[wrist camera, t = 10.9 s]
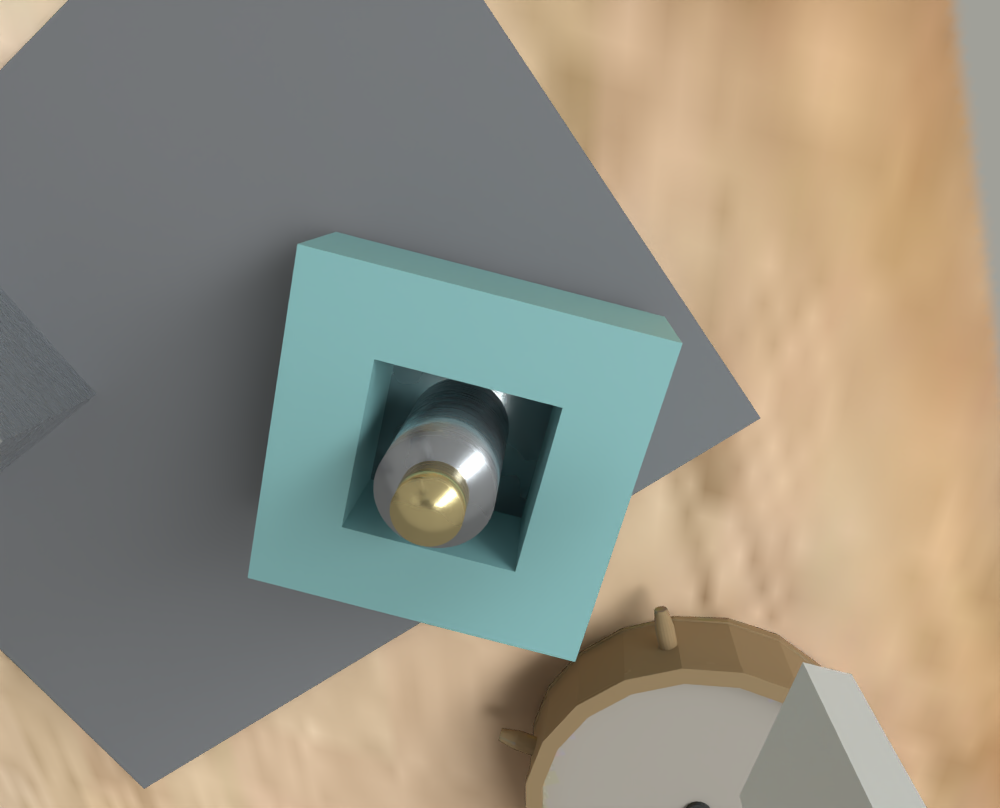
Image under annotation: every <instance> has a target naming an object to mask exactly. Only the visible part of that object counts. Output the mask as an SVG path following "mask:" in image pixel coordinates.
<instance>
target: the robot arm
mask: <svg viewBox="0 0 1000 808" xmlns="http://www.w3.org/2000/svg"><path fill="white" fill-rule="evenodd" d="M739 796H740V799H741V803H742V806H743V808H926V806H925V804H924V802H923V800H922V799H921V797H920V795H919V793H918V792H917V790H916V788H915V786H914V784H913V783H912V781H911V779H910V777H909V776H908V774H907V772H906V770H905V768H904V767H903V765H902V763H901V761H900V760H899V758H898V756H897V754H896V752H895V751H894V749H893V747H892V745H891V744H890V742H889V740H888V738H887V736H886V735H885V733H884V731H883V729H882V727H881V726H880V724H879V722H878V720H877V719H876V717H875V715H874V713H873V711H872V710H871V708H870V706H869V704H868V703H867V701H866V699H865V697H864V695H863V694H862V692H861V690H860V688H859V687H858V685H857V683H856V681H855V679H854V678H853V676H852V674H848V673H844V672H840V671H836V670H832V669H828V668H824V667H820V666H816V665H812V664H808V663H804V662H803V663H802V665H801V667H800V669H799V671H798V673H797V675H796V678H795V680H794V682H793V684H792V686H791V688H790V690H789V692H788V694H787V696H786V699H785V701H784V703H783V705H782V707H781V709H780V711H779V713H778V715H777V718H776V720H775V722H774V724H773V726H772V728H771V730H770V732H769V734H768V736H767V739H766V741H765V743H764V745H763V747H762V749H761V751H760V753H759V755H758V758H757V760H756V762H755V764H754V766H753V768H752V770H751V772H750V774H749V776H748V779H747V781H746V783H745V785H744V787H743V789H742V791H741V793H740V795H739Z"/></svg>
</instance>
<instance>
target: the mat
mask: <svg viewBox="0 0 1000 808" xmlns="http://www.w3.org/2000/svg"><path fill="white" fill-rule="evenodd" d="M334 232H339V233H343V234H347V235H350V236H354V237H358V238H362V239H366V240H370V241H374V242H378V243H381V244H385V245H389V246H393V247H397V248H401V249H405V250H408V251H412V252H416V253H420V254H424V255H428V256H432V257H436V258H439V259H443V260H447V261H451V262H455V263H459V264H463V265H467V266H470V267H474V268H478V269H482V270H486V271H490V272H494V273H498V274H501V275H505V276H509V277H513V278H517V279H521V280H525V281H529V282H532V283H536V284H540V285H544V286H548V287H552V288H556V289H559V290H563V291H567V292H571V293H575V294H579V295H583V296H587V297H590V298H594V299H598V300H602V301H606V302H610V303H614V304H618V305H621V306H625V307H629V308H633V309H637V310H641V311H645V312H649V313H652V314H656V315H660V316H664V317H665V318H666V319H667V321H668V322H669V324H670V325H671V327H672V328H673V330H674V331H675V333H676V334H677V336H678V337H679V339H680V340H681V342H682V343H683V344H682V347H681V350H680V353H679V356H678V359H677V361H676V364H675V367H674V370H673V373H672V376H671V379H670V382H669V385H668V388H667V391H666V394H665V397H664V400H663V403H662V406H661V409H660V412H659V415H658V418H657V421H656V424H655V427H654V430H653V433H652V436H651V439H650V442H649V445H648V447H647V450H646V453H645V456H644V459H643V462H642V465H641V468H640V471H639V474H638V477H637V480H636V483H635V486H634V489H633V492H632V495H634V494H635V493H637V492H638V491H640V490H642V489H643V488H645V487H647V486H648V485H650V484H652V483H653V482H655V481H657V480H658V479H660V478H662V477H663V476H665V475H667V474H668V473H670V472H672V471H673V470H675V469H677V468H678V467H680V466H682V465H683V464H685V463H687V462H688V461H690V460H692V459H693V458H695V457H697V456H698V455H700V454H702V453H703V452H705V451H707V450H708V449H710V448H712V447H713V446H715V445H717V444H718V443H720V442H722V441H723V440H725V439H727V438H728V437H730V436H732V435H733V434H735V433H737V432H738V431H740V430H742V429H743V428H745V427H747V426H748V425H750V424H752V423H753V422H755V421H757V420H758V419H760V417H759V415H758V414H757V412H756V411H755V409H754V408H753V406H752V405H751V403H750V401H749V400H748V398H747V397H746V395H745V394H744V392H743V391H742V389H741V388H740V386H739V385H738V383H737V382H736V380H735V379H734V377H733V376H732V374H731V373H730V371H729V370H728V368H727V367H726V365H725V364H724V362H723V361H722V359H721V358H720V356H719V355H718V353H717V352H716V350H715V349H714V347H713V346H712V344H711V343H710V341H709V340H708V338H707V337H706V335H705V334H704V332H703V331H702V329H701V328H700V326H699V325H698V323H697V322H696V320H695V319H694V317H693V316H692V314H691V312H690V311H689V309H688V308H687V306H686V305H685V303H684V302H683V300H682V299H681V297H680V296H679V294H678V293H677V291H676V290H675V288H674V287H673V285H672V284H671V282H670V281H669V279H668V278H667V276H666V275H665V273H664V272H663V270H662V269H661V267H660V266H659V264H658V263H657V261H656V260H655V258H654V257H653V255H652V254H651V252H650V251H649V249H648V248H647V246H646V245H645V243H644V242H643V240H642V239H641V237H640V236H639V234H638V233H637V231H636V230H635V228H634V227H633V225H632V223H631V222H630V220H629V219H628V217H627V216H626V214H625V213H624V211H623V210H622V208H621V207H620V205H619V204H618V202H617V201H616V199H615V198H614V196H613V195H612V193H611V192H610V190H609V189H608V187H607V186H606V184H605V183H604V181H603V180H602V178H601V177H600V175H599V174H598V172H597V171H596V169H595V168H594V166H593V165H592V163H591V162H590V160H589V159H588V157H587V156H586V154H585V153H584V151H583V150H582V148H581V147H580V145H579V144H578V142H577V141H576V139H575V138H574V136H573V134H572V133H571V131H570V130H569V128H568V127H567V125H566V124H565V122H564V121H563V119H562V118H561V116H560V115H559V113H558V112H557V110H556V109H555V107H554V106H553V104H552V103H551V101H550V100H549V98H548V97H547V95H546V94H545V92H544V91H543V89H542V88H541V86H540V85H539V83H538V82H537V80H536V79H535V77H534V76H533V74H532V73H531V71H530V70H529V68H528V67H527V65H526V64H525V62H524V61H523V59H522V58H521V56H520V55H519V53H518V52H517V50H516V49H515V47H514V45H513V44H512V42H511V41H510V39H509V38H508V36H507V35H506V33H505V32H504V30H503V29H502V27H501V26H500V24H499V23H498V21H497V20H496V18H495V17H494V15H493V14H492V12H491V11H490V9H489V8H488V6H487V5H486V3H485V2H484V0H68V1H67V2H66V3H65V4H64V5H63V6H62V7H61V8H60V9H59V10H58V11H57V12H56V13H55V14H54V15H53V17H52V18H51V19H50V20H49V21H48V22H47V23H46V24H45V25H44V26H43V27H42V28H41V29H40V30H39V31H38V32H37V33H36V34H35V35H34V36H33V37H32V38H31V39H30V40H29V41H28V42H27V43H26V44H25V45H24V46H23V47H22V48H21V49H20V50H19V51H18V53H17V54H16V55H15V56H14V57H13V58H12V59H11V60H10V61H9V62H8V63H7V64H6V65H5V66H4V67H3V68H2V69H1V70H0V288H1V289H2V290H3V291H4V292H5V293H6V294H7V295H8V296H9V298H10V299H11V300H12V301H13V302H14V303H15V304H16V305H17V306H18V308H19V309H20V310H21V311H22V312H23V313H24V314H25V315H26V316H27V317H28V319H29V320H30V321H31V322H32V323H33V324H34V325H35V326H36V327H37V329H38V330H39V331H40V332H41V333H42V334H43V335H44V336H45V337H46V339H47V340H48V341H49V342H50V343H51V344H52V345H53V346H54V347H55V349H56V350H57V351H58V352H59V353H60V354H61V355H62V356H63V357H64V359H65V360H66V361H67V362H68V363H69V364H70V365H71V366H72V367H73V369H74V370H75V371H76V372H77V373H78V374H79V375H80V376H81V377H82V379H83V380H84V381H85V382H86V383H87V384H88V385H89V386H90V387H91V389H92V390H93V391H94V392H95V393H96V394H97V395H95V396H94V397H93V398H92V399H90V400H89V401H88V402H87V403H86V404H84V405H83V406H82V407H81V408H79V409H78V410H77V411H76V412H74V413H73V414H72V415H71V416H70V417H68V418H67V419H66V420H65V421H63V422H62V423H61V424H60V425H59V426H57V427H56V428H55V429H54V430H52V431H51V432H50V433H49V434H47V435H46V436H45V437H44V438H43V439H41V440H40V441H39V442H38V443H36V444H35V445H34V446H33V447H32V448H30V449H29V450H28V451H27V452H25V453H24V454H23V455H22V456H20V457H19V458H18V459H17V460H16V461H14V462H13V463H12V464H11V465H9V466H8V467H7V468H6V469H5V470H3V471H2V472H1V473H0V650H1V651H2V652H3V653H4V654H5V655H7V656H8V657H9V658H10V659H11V660H12V661H13V662H14V663H15V664H16V665H17V666H18V667H19V668H20V669H21V670H22V671H23V672H24V673H25V674H26V675H27V676H28V677H29V678H30V679H31V680H32V681H33V682H34V683H35V684H36V685H38V686H39V687H40V688H41V689H42V690H43V691H44V692H45V693H46V694H47V695H48V696H49V697H50V698H51V699H52V700H53V701H54V702H55V703H56V704H57V705H58V706H59V707H60V708H61V709H62V710H63V711H64V712H65V713H66V714H67V715H69V716H70V717H71V718H72V719H73V720H74V721H75V722H76V723H77V724H78V725H79V726H80V727H81V728H82V729H83V730H84V731H85V732H86V733H87V734H88V735H89V736H90V737H91V738H92V739H93V740H94V741H95V742H96V743H97V744H98V745H99V746H101V747H102V748H103V749H104V750H105V751H106V752H107V753H108V754H109V755H110V756H111V757H112V758H113V759H114V760H115V761H116V762H117V763H118V764H119V765H120V766H121V767H122V768H123V769H124V770H125V771H126V772H127V773H128V774H129V775H130V776H132V777H133V778H134V779H135V780H136V781H137V782H138V783H139V784H140V785H141V786H142V787H143V788H144V789H145V788H146V787H148V786H150V785H151V784H153V783H155V782H156V781H158V780H159V779H161V778H163V777H164V776H166V775H168V774H169V773H171V772H173V771H174V770H176V769H178V768H179V767H181V766H183V765H184V764H186V763H188V762H189V761H191V760H193V759H194V758H196V757H198V756H199V755H201V754H203V753H204V752H206V751H208V750H209V749H211V748H213V747H214V746H216V745H218V744H219V743H221V742H223V741H224V740H226V739H228V738H229V737H231V736H233V735H234V734H236V733H238V732H239V731H241V730H243V729H244V728H246V727H248V726H249V725H251V724H253V723H254V722H256V721H258V720H259V719H261V718H263V717H264V716H266V715H268V714H269V713H271V712H273V711H274V710H276V709H278V708H279V707H281V706H283V705H284V704H286V703H288V702H289V701H291V700H293V699H294V698H296V697H298V696H299V695H301V694H303V693H304V692H306V691H308V690H309V689H311V688H313V687H314V686H316V685H317V684H319V683H321V682H322V681H324V680H326V679H327V678H329V677H331V676H332V675H334V674H336V673H337V672H339V671H341V670H342V669H344V668H346V667H347V666H349V665H351V664H352V663H354V662H356V661H357V660H359V659H361V658H362V657H364V656H366V655H367V654H369V653H371V652H372V651H374V650H376V649H377V648H379V647H381V646H382V645H384V644H386V643H387V642H389V641H391V640H392V639H394V638H396V637H397V636H399V635H401V634H402V633H404V632H406V631H407V630H409V629H411V628H412V627H414V626H416V625H417V624H419V623H421V622H418V621H414V620H410V619H406V618H402V617H398V616H394V615H390V614H387V613H383V612H379V611H375V610H371V609H367V608H363V607H359V606H355V605H352V604H348V603H344V602H340V601H336V600H332V599H328V598H324V597H320V596H317V595H313V594H309V593H305V592H301V591H297V590H293V589H289V588H285V587H282V586H278V585H274V584H270V583H266V582H262V581H258V580H254V579H250V578H248V572H249V565H250V559H251V552H252V545H253V539H254V532H255V525H256V518H257V512H258V505H259V498H260V492H261V485H262V478H263V472H264V465H265V458H266V451H267V445H268V438H269V431H270V425H271V418H272V411H273V404H274V398H275V391H276V384H277V378H278V371H279V364H280V358H281V351H282V344H283V337H284V331H285V324H286V317H287V311H288V304H289V297H290V290H291V284H292V277H293V270H294V264H295V257H296V250H297V244H299V243H302V242H305V241H308V240H311V239H315V238H318V237H321V236H324V235H327V234H331V233H334ZM632 495H631V496H632Z"/></svg>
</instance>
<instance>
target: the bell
mask: <svg viewBox="0 0 1000 808" xmlns="http://www.w3.org/2000/svg"><path fill="white" fill-rule="evenodd" d="M552 408H553V405H550V404H546V403H542V402H538V401H534V400H530V399H526V398H522V397H519V396H515V395H511V394H507V393H503V392H499V391H495V390H491V389H488V388H484V387H480V386H476V385H472V384H468V383H464V382H460V381H456V380H453V379H449V378H445V377H441V376H437V375H433V374H429V373H425V372H422V371H418V370H414V369H410V368H406V367H402V366H398V365H393V370H392V375H391V380H390V385H389V390H388V395H387V400H386V405H385V410H384V415H383V420H382V424H381V429H380V434H379V439H378V444H377V449H376V454H375V459H374V464H373V469H372V474H371V479H372V480H374V485H373V492H374V499H375V503H376V506H377V509H378V511H379V513H380V515H381V517H382V518H383V520H384V521H385V522H386V524H387V525H388V526H389V527H390V528H391V529H392V530H393V531H394V532H395V533H397V534H398V535H399V536H401V537H402V538H404V539H406V540H408V541H409V542H411V543H414V544H416V545H420V546H424V547H430V548H447V547H453V546H457V545H460V544H462V543H465V542H467V541H468V540H470V539H472V538H473V537H475V536H476V535H477V534H478V533H480V532H481V531H482V530H483V528H484V527H485V526H486V525H487V523H488V521H489V520H490V518H491V516H492V513H493V511H497V512H500V513H504V514H508V515H512V516H516V517H520V518H521V517H522V514H523V510H524V507H525V503H526V500H527V496H528V493H529V489H530V486H531V482H532V479H533V475H534V472H535V468H536V464H537V461H538V457H539V454H540V450H541V447H542V443H543V440H544V436H545V433H546V429H547V426H548V422H549V419H550V415H551V412H552Z"/></svg>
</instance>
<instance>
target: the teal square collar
mask: <svg viewBox="0 0 1000 808" xmlns="http://www.w3.org/2000/svg"><path fill="white" fill-rule="evenodd" d="M682 344H683V343H682V342H681V340H680V339H679V337H678V336H677V334H676V333H675V331H674V330H673V328H672V327H671V325H670V324H669V322H668V321H667V319H666V318H665V317H664V316H660V315H656V314H652V313H649V312H645V311H641V310H637V309H633V308H629V307H625V306H621V305H618V304H614V303H610V302H606V301H602V300H598V299H594V298H590V297H587V296H583V295H579V294H575V293H571V292H567V291H563V290H559V289H556V288H552V287H548V286H544V285H540V284H536V283H532V282H529V281H525V280H521V279H517V278H513V277H509V276H505V275H501V274H498V273H494V272H490V271H486V270H482V269H478V268H474V267H470V266H467V265H463V264H459V263H455V262H451V261H447V260H443V259H439V258H436V257H432V256H428V255H424V254H420V253H416V252H412V251H408V250H405V249H401V248H397V247H393V246H389V245H385V244H381V243H378V242H374V241H370V240H366V239H362V238H358V237H354V236H350V235H347V234H343V233H339V232H334V233H331V234H327V235H324V236H321V237H318V238H315V239H311V240H308V241H305V242H302V243H299V244H297V250H296V257H295V264H294V270H293V277H292V284H291V290H290V297H289V304H288V311H287V317H286V324H285V331H284V337H283V344H282V351H281V358H280V364H279V371H278V378H277V384H276V391H275V398H274V404H273V411H272V418H271V425H270V431H269V438H268V445H267V451H266V458H265V465H264V472H263V478H262V485H261V492H260V498H259V505H258V512H257V518H256V525H255V532H254V539H253V545H252V552H251V559H250V565H249V572H248V578H250V579H254V580H258V581H262V582H266V583H270V584H274V585H278V586H282V587H285V588H289V589H293V590H297V591H301V592H305V593H309V594H313V595H317V596H320V597H324V598H328V599H332V600H336V601H340V602H344V603H348V604H352V605H355V606H359V607H363V608H367V609H371V610H375V611H379V612H383V613H387V614H390V615H394V616H398V617H402V618H406V619H410V620H414V621H418V622H422V623H425V624H429V625H433V626H437V627H441V628H445V629H449V630H453V631H457V632H461V633H464V634H468V635H472V636H476V637H480V638H484V639H488V640H492V641H496V642H499V643H503V644H507V645H511V646H515V647H519V648H523V649H527V650H531V651H534V652H538V653H542V654H546V655H550V656H554V657H558V658H562V659H566V660H569V661H573V662H575V661H576V658H577V655H578V652H579V649H580V646H581V643H582V640H583V637H584V634H585V631H586V628H587V625H588V622H589V619H590V617H591V614H592V611H593V608H594V605H595V602H596V599H597V596H598V593H599V590H600V587H601V584H602V581H603V578H604V575H605V572H606V569H607V566H608V563H609V560H610V557H611V554H612V551H613V548H614V545H615V542H616V539H617V536H618V533H619V531H620V528H621V525H622V522H623V519H624V516H625V513H626V510H627V507H628V504H629V501H630V498H631V495H632V492H633V489H634V486H635V483H636V480H637V477H638V474H639V471H640V468H641V465H642V462H643V459H644V456H645V453H646V450H647V447H648V445H649V442H650V439H651V436H652V433H653V430H654V427H655V424H656V421H657V418H658V415H659V412H660V409H661V406H662V403H663V400H664V397H665V394H666V391H667V388H668V385H669V382H670V379H671V376H672V373H673V370H674V367H675V364H676V361H677V359H678V356H679V353H680V350H681V347H682ZM393 365H398V366H402V367H406V368H410V369H414V370H418V371H422V372H425V373H429V374H433V375H437V376H441V377H445V378H449V379H453V380H456V381H460V382H464V383H468V384H472V385H476V386H480V387H484V388H488V389H491V390H495V391H499V392H503V393H507V394H511V395H515V396H519V397H522V398H526V399H530V400H534V401H538V402H542V403H546V404H550V405H553V408H552V412H551V415H550V419H549V422H548V426H547V429H546V433H545V436H544V440H543V443H542V447H541V450H540V454H539V457H538V461H537V464H536V468H535V472H534V475H533V479H532V482H531V486H530V489H529V493H528V496H527V500H526V503H525V507H524V510H523V514H522V517H521V518H520V517H516V516H512V515H508V514H504V513H500V512H497V511H493V513H492V516H491V518H490V520H489V521H488V523H487V525H486V526H485V527H484V528H483V530H482V531H481V532H480V533H478V534H477V535H476V536H475V537H473V538H472V539H470V540H468V541H467V542H465V543H462V544H460V545H457V546H453V547H447V548H430V547H424V546H420V545H416V544H414V543H411V542H409V541H408V540H406V539H404V538H402V537H401V536H399V535H398V534H397V533H395V532H394V531H393V530H392V529H391V528H390V527H389V526H388V525H387V524H386V522H385V521H384V520H383V518H382V517H381V515H380V513H379V511H378V509H377V506H376V503H375V499H374V492H373V485H374V480H372V479H371V474H372V469H373V464H374V459H375V454H376V449H377V444H378V439H379V434H380V429H381V424H382V420H383V415H384V410H385V405H386V400H387V395H388V390H389V385H390V380H391V375H392V370H393Z"/></svg>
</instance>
